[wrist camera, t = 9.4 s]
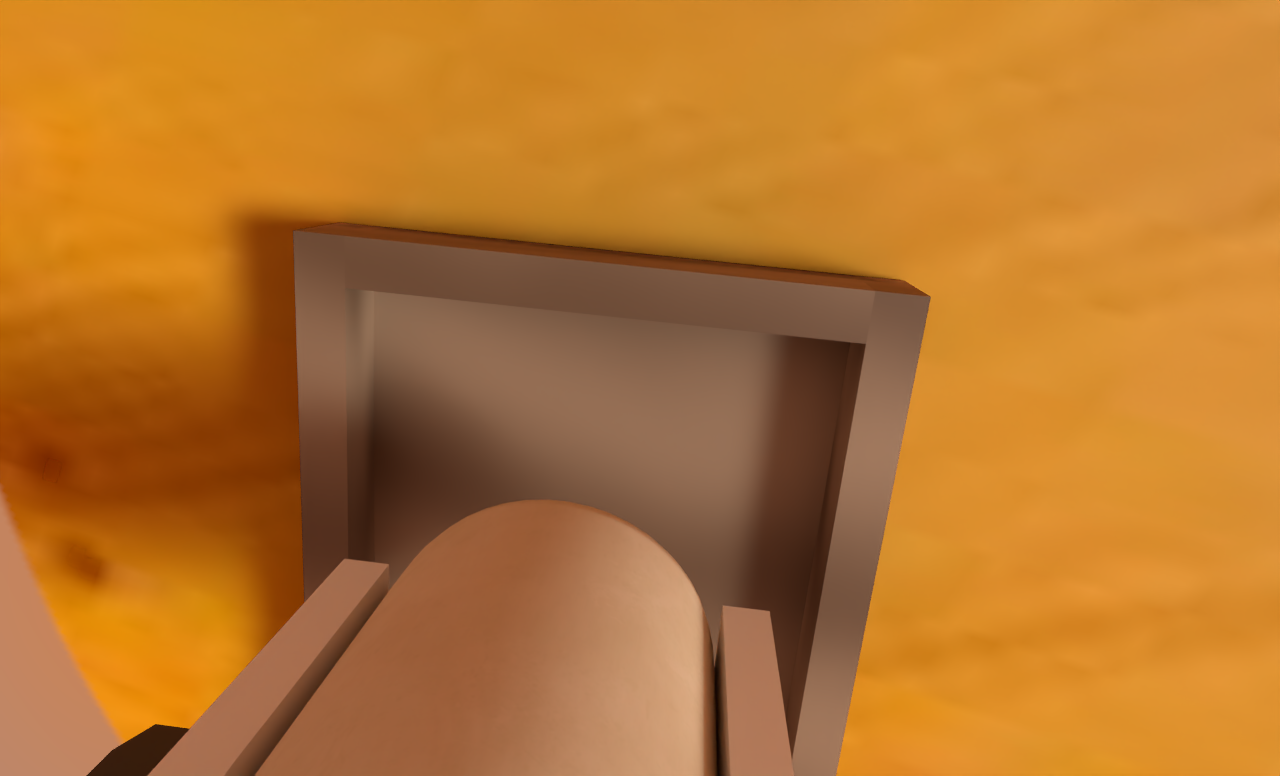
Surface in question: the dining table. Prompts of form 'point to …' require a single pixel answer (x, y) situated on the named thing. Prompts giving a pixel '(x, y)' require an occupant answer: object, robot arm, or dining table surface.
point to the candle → (521, 660)
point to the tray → (615, 421)
